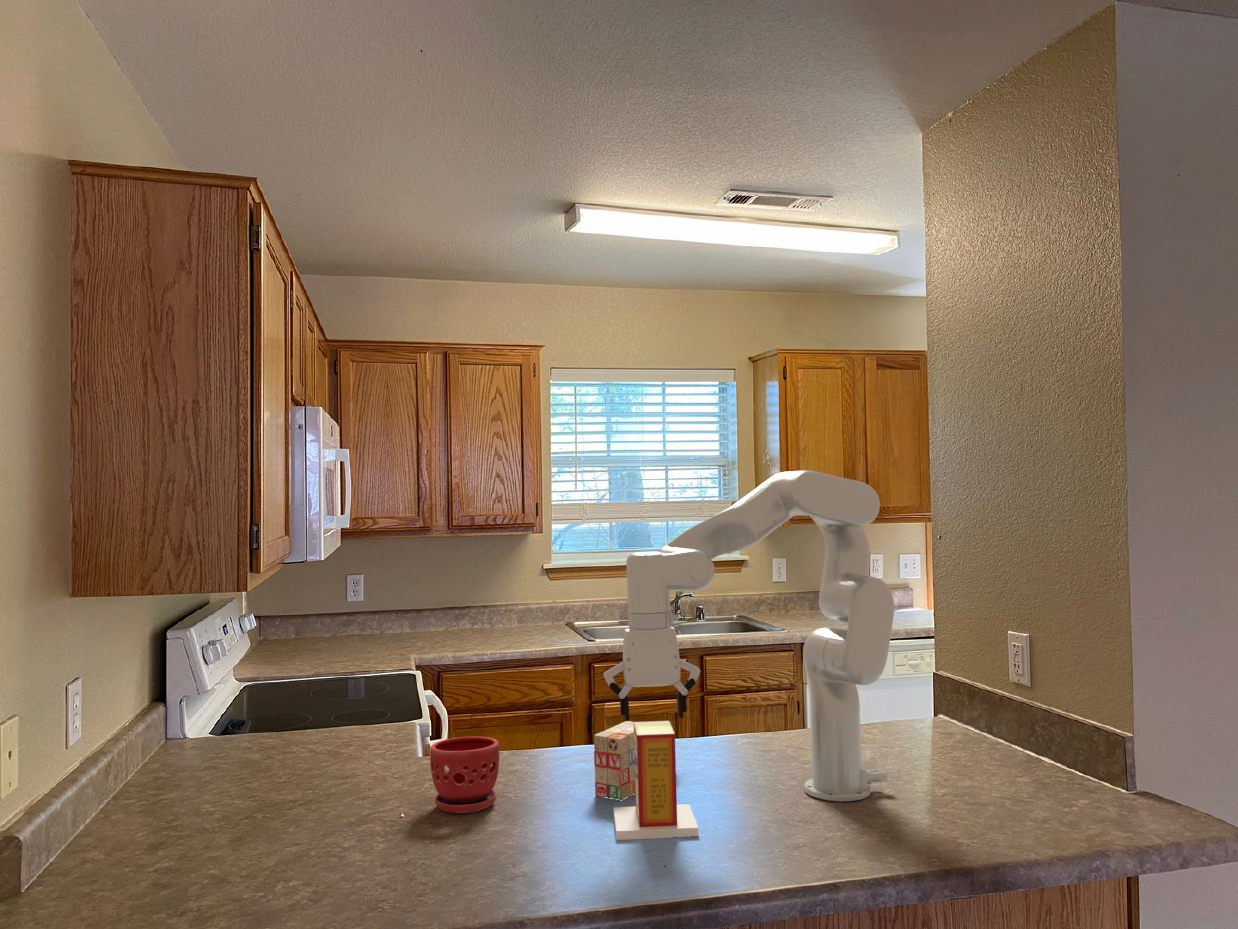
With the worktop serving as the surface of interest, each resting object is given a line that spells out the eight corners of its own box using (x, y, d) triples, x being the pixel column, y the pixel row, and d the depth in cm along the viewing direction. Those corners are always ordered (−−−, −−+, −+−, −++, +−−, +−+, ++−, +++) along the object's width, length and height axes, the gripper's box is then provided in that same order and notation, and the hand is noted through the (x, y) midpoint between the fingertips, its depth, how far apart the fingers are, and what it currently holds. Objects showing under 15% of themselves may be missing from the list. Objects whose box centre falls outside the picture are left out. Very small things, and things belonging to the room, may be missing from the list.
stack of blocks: (650, 768, 193) (648, 711, 194) (675, 772, 190) (674, 714, 191) (594, 797, 175) (593, 734, 176) (621, 802, 172) (620, 737, 173)
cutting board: (689, 812, 165) (689, 804, 165) (698, 836, 153) (698, 827, 153) (613, 815, 165) (613, 807, 165) (616, 840, 153) (616, 831, 153)
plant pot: (514, 804, 172) (513, 740, 173) (458, 823, 163) (457, 756, 163) (472, 790, 181) (471, 730, 182) (417, 807, 172) (416, 744, 172)
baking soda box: (635, 808, 164) (633, 720, 164) (671, 807, 164) (668, 718, 165) (639, 827, 154) (637, 733, 155) (677, 825, 154) (674, 731, 155)
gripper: (694, 616, 165) (699, 710, 164) (600, 620, 164) (604, 715, 163) (700, 622, 157) (705, 720, 157) (602, 626, 156) (606, 726, 156)
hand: (653, 718), depth 160 cm, fingers open, 9 cm apart
